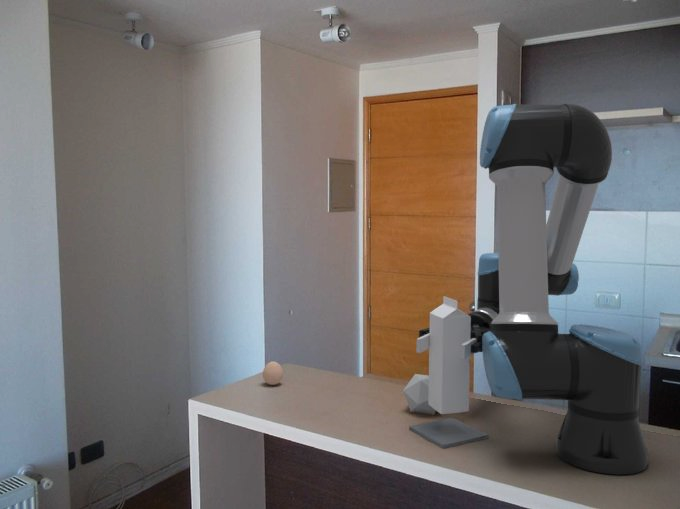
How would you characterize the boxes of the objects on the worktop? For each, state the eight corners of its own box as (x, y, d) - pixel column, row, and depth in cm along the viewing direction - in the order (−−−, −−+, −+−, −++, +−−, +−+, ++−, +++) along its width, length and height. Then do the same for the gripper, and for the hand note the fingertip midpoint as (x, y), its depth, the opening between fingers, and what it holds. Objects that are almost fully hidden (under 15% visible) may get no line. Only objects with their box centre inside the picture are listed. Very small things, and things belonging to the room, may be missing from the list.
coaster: (488, 437, 119) (488, 434, 119) (443, 448, 114) (443, 445, 114) (452, 420, 129) (452, 417, 129) (409, 429, 123) (409, 426, 123)
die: (449, 411, 136) (431, 371, 140) (452, 403, 129) (433, 362, 133) (415, 425, 136) (398, 385, 140) (416, 418, 128) (398, 376, 132)
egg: (287, 385, 153) (286, 362, 153) (269, 389, 150) (269, 365, 150) (276, 380, 157) (276, 358, 157) (259, 384, 154) (258, 361, 154)
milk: (441, 415, 118) (442, 301, 116) (427, 404, 124) (428, 296, 122) (469, 411, 120) (471, 300, 118) (455, 401, 125) (456, 295, 123)
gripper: (527, 350, 130) (494, 376, 111) (434, 338, 141) (390, 360, 122) (528, 315, 130) (495, 336, 111) (435, 306, 141) (390, 323, 122)
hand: (440, 349), depth 116 cm, fingers closed on milk, 8 cm apart
